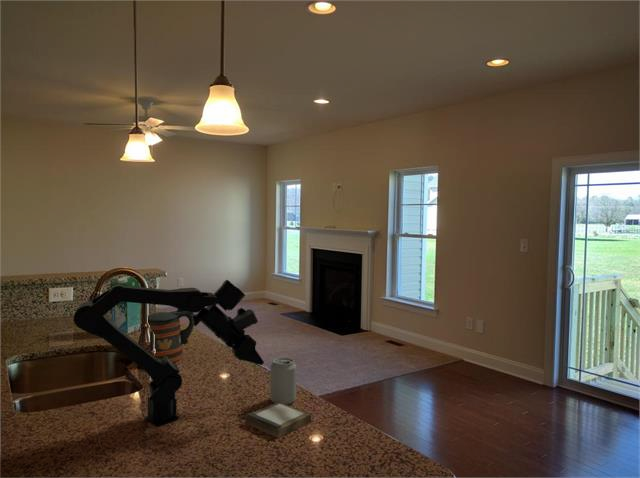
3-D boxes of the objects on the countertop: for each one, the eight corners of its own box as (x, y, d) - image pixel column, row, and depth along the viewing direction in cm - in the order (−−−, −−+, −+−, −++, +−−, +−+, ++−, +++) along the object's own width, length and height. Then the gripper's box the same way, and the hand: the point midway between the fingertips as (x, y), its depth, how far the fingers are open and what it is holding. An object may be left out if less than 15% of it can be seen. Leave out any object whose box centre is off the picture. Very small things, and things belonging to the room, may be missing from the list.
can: (292, 407, 130) (292, 365, 130) (266, 404, 132) (267, 363, 131) (298, 397, 138) (299, 357, 137) (274, 394, 139) (274, 355, 139)
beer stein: (185, 349, 185) (185, 299, 184) (199, 358, 173) (199, 305, 172) (136, 357, 173) (135, 304, 172) (147, 368, 162) (147, 311, 161)
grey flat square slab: (278, 438, 112) (278, 427, 112) (245, 423, 120) (245, 413, 120) (310, 421, 121) (311, 412, 121) (278, 409, 129) (278, 399, 129)
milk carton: (110, 333, 206) (109, 278, 205) (124, 329, 215) (123, 275, 214) (127, 335, 204) (126, 279, 202) (140, 331, 212) (140, 276, 211)
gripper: (248, 307, 120) (288, 345, 124) (232, 295, 137) (268, 329, 142) (217, 340, 117) (259, 378, 122) (205, 324, 134) (242, 357, 139)
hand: (258, 358), depth 131 cm, fingers open, 9 cm apart
